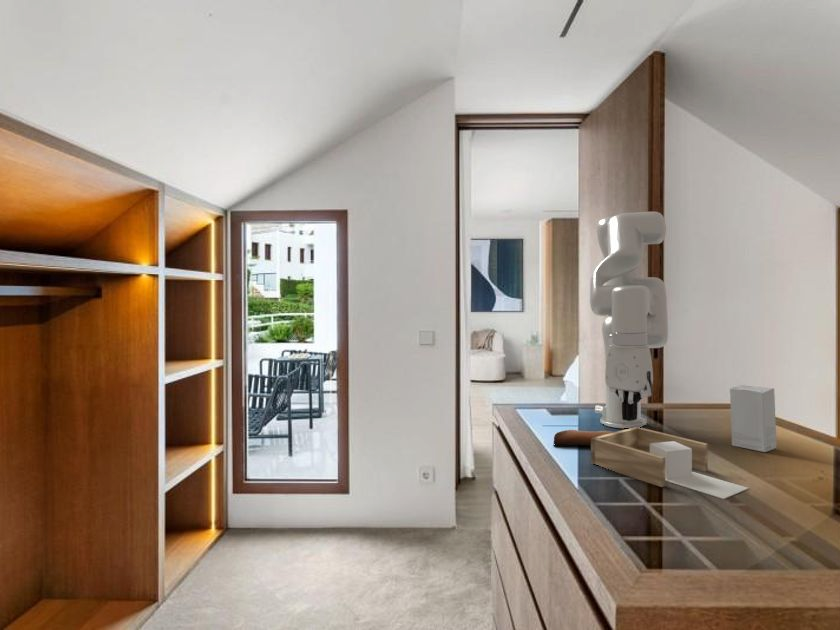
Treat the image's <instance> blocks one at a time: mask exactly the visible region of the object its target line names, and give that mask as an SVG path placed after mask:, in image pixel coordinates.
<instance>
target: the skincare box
mask: <svg viewBox="0 0 840 630" xmlns="http://www.w3.org/2000/svg"><path fill="white" fill-rule="evenodd" d="M729 397H730V398H729V399H730V401H729V402H730V422H731V423H730V424H731V425H730V426H731V445H732V446H733V447H737V448H743V449H748V450H753V451H757V452H762V453H767V452H769V451H773V450H776V449H777V422H776V402H775V401H776V400H775V399H776V397H775V388H773V387H761V386H752V385H745V384H740V385H737V386H734V387H731V388H729ZM732 446H731V447H732Z"/></svg>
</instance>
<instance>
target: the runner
mask: <svg viewBox="0 0 840 630" xmlns="http://www.w3.org/2000/svg"><path fill="white" fill-rule="evenodd" d="M665 482H667V483H670V484H674V485H677V486H680V487H683V488H686V489H690V490H693V491H695V492H699V493H702V494H705V495H709V496H712V497H715V498H718V499H721V500H725V499H728V498H730V497H732V496H735V495H737V494H740V493H742V492H744V491H747V490H749V487H746V486H743V485H740V484H738V483H737V484H736V483H733V482H729V481H726V480H722V479H719V478H715V477H712V476H708V475H705V474H701V473H698V472H695V471H692V476H691V477H682V478H673V479H665Z"/></svg>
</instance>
